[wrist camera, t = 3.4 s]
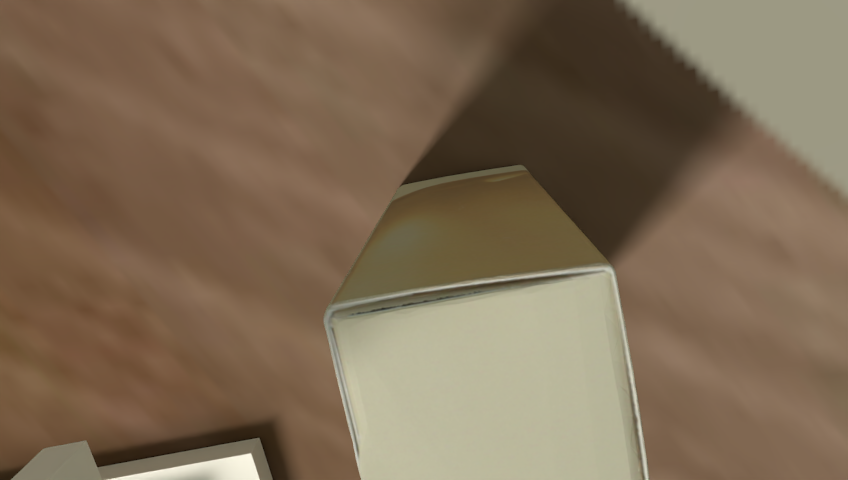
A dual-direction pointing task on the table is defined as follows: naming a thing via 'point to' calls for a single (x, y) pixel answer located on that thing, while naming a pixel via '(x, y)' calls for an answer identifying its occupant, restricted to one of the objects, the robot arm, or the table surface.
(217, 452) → the socket board
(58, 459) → the robot arm
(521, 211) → the skincare box
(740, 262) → the table surface
